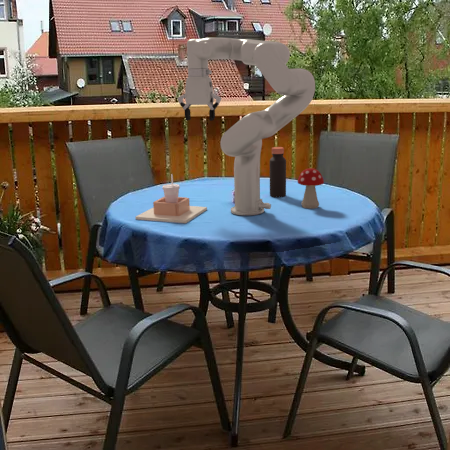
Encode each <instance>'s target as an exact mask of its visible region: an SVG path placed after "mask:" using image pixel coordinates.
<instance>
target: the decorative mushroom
mask: <svg viewBox="0 0 450 450" xmlns="http://www.w3.org/2000/svg"><path fill="white" fill-rule="evenodd" d="M324 182H325V181H324V177H323V175H322V173H321V172H320V171H319V170H318V169H317V168H312V167H309V168H305V169H304V170H302V171H301V172H300V174H299V176H298V179H297V184H298V185H301V186H305V189H304V192H303V198H302V201H301V202H300V204H301V206H302V207H301V208H303V209H312V210H313V209H318V208H319V206H320V201H319V200H318V195H317V189H316V187H317V186H322V185H323V184H324Z"/></svg>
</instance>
